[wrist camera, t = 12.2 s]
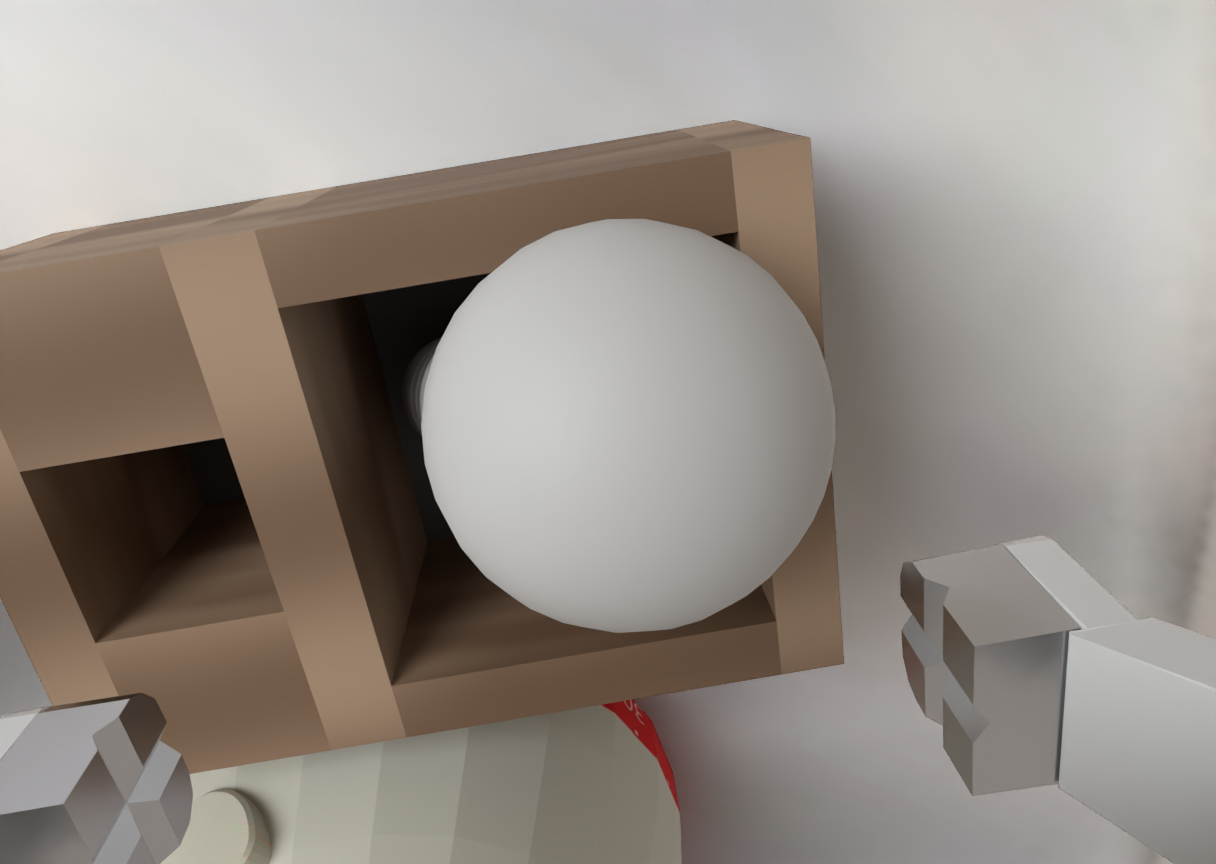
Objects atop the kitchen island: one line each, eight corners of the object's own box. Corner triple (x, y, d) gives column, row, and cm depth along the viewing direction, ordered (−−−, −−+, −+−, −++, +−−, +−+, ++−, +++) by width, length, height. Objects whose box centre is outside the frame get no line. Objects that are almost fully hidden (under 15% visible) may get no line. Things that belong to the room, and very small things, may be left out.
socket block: (53, 234, 19) (-144, 297, 14) (734, 120, 19) (809, 138, 14) (201, 618, 23) (93, 790, 18) (772, 522, 23) (844, 663, 18)
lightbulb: (608, 387, 23) (988, 440, 13) (442, 574, 21) (742, 787, 11) (446, 194, 20) (776, 86, 10) (241, 390, 18) (415, 471, 9)
